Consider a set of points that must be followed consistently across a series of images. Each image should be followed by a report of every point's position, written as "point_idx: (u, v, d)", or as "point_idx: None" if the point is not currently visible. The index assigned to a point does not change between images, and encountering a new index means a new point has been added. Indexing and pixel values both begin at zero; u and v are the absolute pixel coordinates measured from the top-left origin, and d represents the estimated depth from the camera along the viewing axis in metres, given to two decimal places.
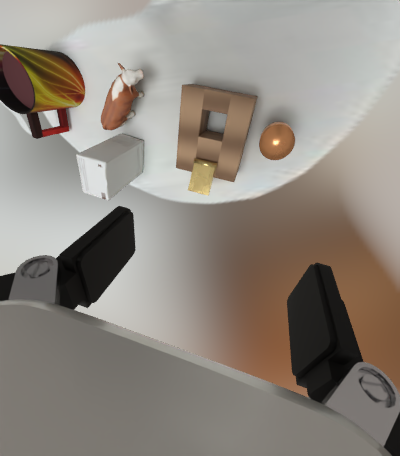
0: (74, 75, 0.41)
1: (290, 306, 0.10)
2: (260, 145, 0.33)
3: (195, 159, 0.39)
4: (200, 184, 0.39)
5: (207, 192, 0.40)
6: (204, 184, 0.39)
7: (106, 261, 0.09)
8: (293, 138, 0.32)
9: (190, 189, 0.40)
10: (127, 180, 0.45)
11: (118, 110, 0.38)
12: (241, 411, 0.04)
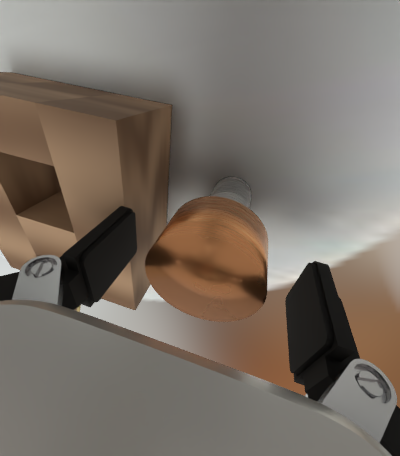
0: None
1: (288, 304, 0.10)
2: (151, 280, 0.10)
3: None
4: None
5: None
6: None
7: (109, 260, 0.10)
8: (260, 282, 0.08)
9: None
10: None
11: None
12: (241, 411, 0.04)
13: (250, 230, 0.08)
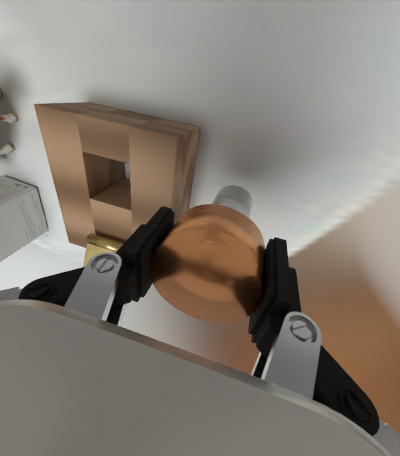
0: None
1: None
2: (154, 281, 0.10)
3: (89, 236, 0.21)
4: None
5: None
6: None
7: None
8: (255, 285, 0.08)
9: None
10: None
11: None
12: (241, 411, 0.04)
13: (247, 237, 0.09)
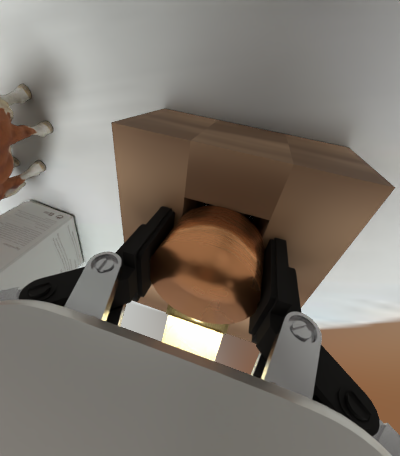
0: None
1: None
2: (154, 282, 0.10)
3: None
4: None
5: None
6: None
7: None
8: (254, 287, 0.08)
9: None
10: None
11: None
12: (241, 411, 0.04)
13: (246, 238, 0.09)
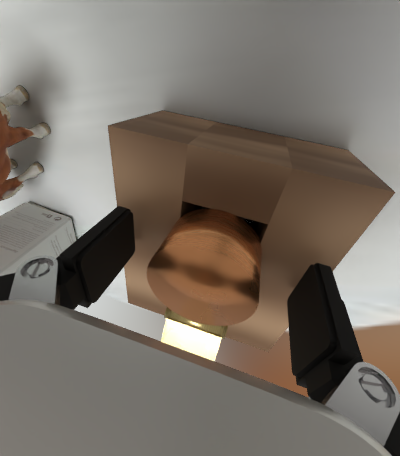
0: None
1: (290, 306, 0.10)
2: (152, 286, 0.10)
3: (169, 309, 0.15)
4: None
5: None
6: None
7: (106, 261, 0.09)
8: (253, 290, 0.08)
9: None
10: None
11: None
12: (241, 411, 0.04)
13: (244, 241, 0.09)
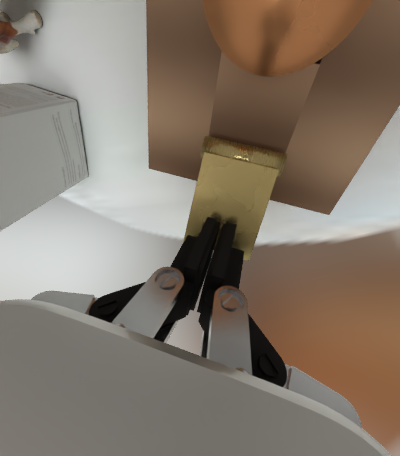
0: None
1: None
2: None
3: (208, 140, 0.11)
4: None
5: (247, 251, 0.12)
6: (237, 224, 0.12)
7: (205, 270, 0.10)
8: None
9: None
10: (28, 200, 0.18)
11: None
12: (241, 411, 0.04)
13: None
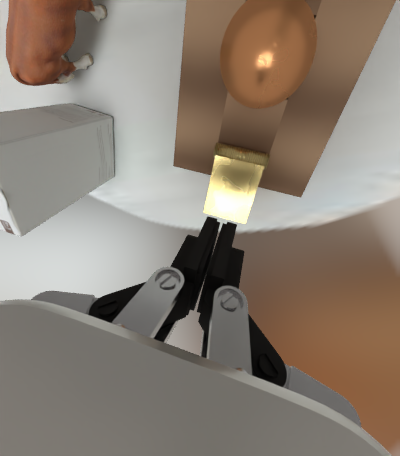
0: None
1: None
2: (223, 67, 0.13)
3: (218, 146, 0.17)
4: (229, 202, 0.18)
5: (244, 218, 0.19)
6: (238, 201, 0.18)
7: (205, 270, 0.10)
8: (313, 33, 0.11)
9: (208, 211, 0.19)
10: (76, 191, 0.23)
11: (38, 30, 0.16)
12: (241, 411, 0.04)
13: None
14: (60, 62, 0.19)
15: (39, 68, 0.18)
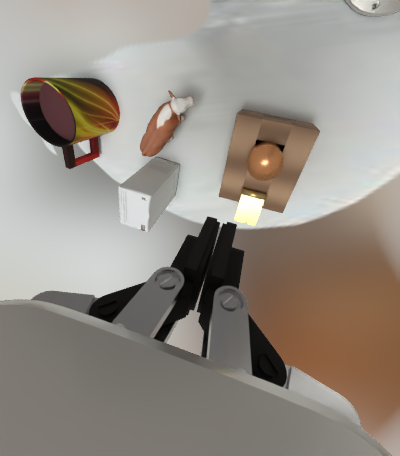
0: (111, 103, 0.39)
1: None
2: (248, 166, 0.32)
3: (243, 190, 0.36)
4: (247, 215, 0.38)
5: (254, 223, 0.38)
6: (251, 215, 0.38)
7: (205, 270, 0.10)
8: (281, 159, 0.30)
9: (236, 219, 0.39)
10: (163, 207, 0.43)
11: (161, 138, 0.36)
12: (241, 412, 0.04)
13: (278, 148, 0.31)
14: None
15: (155, 150, 0.38)
